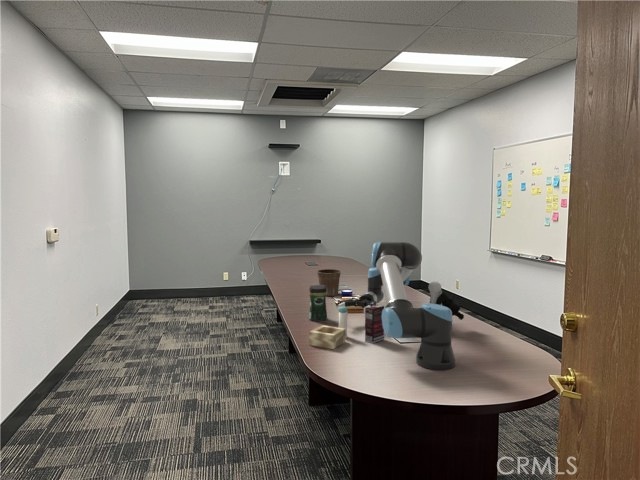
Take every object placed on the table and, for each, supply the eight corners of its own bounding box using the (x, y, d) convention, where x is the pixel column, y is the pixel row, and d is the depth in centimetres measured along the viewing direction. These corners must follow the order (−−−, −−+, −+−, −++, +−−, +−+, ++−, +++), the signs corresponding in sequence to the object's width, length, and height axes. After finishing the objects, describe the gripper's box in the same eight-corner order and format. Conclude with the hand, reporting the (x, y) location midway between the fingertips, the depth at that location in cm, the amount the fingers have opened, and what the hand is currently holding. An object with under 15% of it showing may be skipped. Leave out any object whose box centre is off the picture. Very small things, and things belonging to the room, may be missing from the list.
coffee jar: (325, 317, 254) (325, 283, 252) (327, 320, 246) (328, 286, 245) (308, 317, 253) (308, 283, 251) (309, 321, 245) (309, 286, 243)
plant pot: (328, 298, 301) (328, 273, 299) (311, 294, 313) (311, 270, 311) (346, 295, 312) (346, 271, 310) (329, 291, 324) (329, 268, 322)
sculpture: (413, 329, 232) (414, 279, 230) (453, 325, 240) (454, 277, 238) (430, 338, 218) (431, 285, 215) (472, 333, 226) (474, 282, 223)
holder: (345, 341, 211) (345, 328, 211) (333, 349, 201) (333, 335, 200) (321, 337, 217) (321, 325, 216) (309, 344, 206) (309, 331, 206)
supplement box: (376, 337, 218) (376, 304, 217) (384, 339, 215) (385, 305, 213) (364, 341, 212) (364, 307, 211) (372, 343, 209) (373, 308, 207)
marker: (348, 336, 219) (348, 307, 218) (344, 338, 216) (345, 308, 215) (340, 335, 221) (341, 306, 220) (337, 337, 218) (337, 307, 216)
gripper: (390, 310, 240) (375, 320, 221) (346, 304, 251) (328, 313, 233) (390, 295, 239) (375, 304, 220) (346, 290, 251) (328, 298, 232)
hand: (351, 309), depth 227 cm, fingers open, 13 cm apart
